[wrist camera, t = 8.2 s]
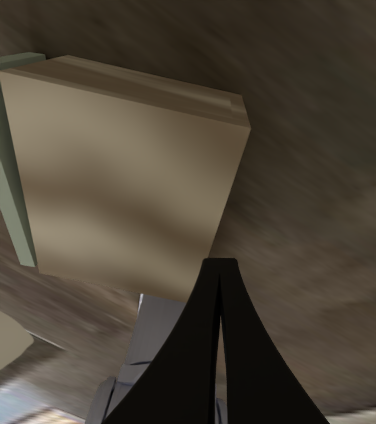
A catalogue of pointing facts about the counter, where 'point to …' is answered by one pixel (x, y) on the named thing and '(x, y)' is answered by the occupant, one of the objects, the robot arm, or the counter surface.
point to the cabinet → (122, 171)
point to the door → (14, 174)
